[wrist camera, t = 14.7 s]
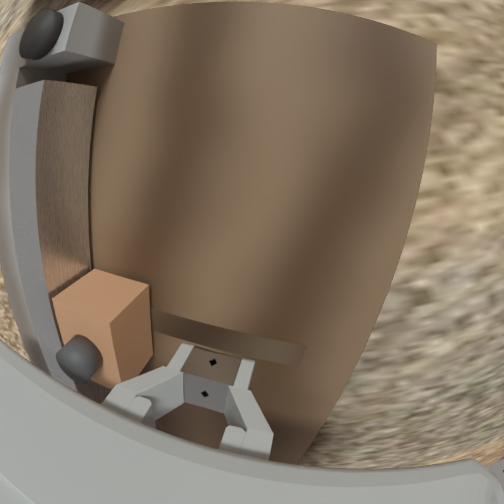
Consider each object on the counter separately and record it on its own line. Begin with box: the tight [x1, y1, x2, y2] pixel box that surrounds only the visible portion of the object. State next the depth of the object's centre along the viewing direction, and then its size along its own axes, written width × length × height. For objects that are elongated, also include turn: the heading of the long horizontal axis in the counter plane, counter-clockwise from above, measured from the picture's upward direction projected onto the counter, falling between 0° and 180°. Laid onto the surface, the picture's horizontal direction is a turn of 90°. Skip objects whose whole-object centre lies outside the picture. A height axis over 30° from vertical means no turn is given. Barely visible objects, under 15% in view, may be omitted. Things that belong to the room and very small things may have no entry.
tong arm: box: [9, 80, 112, 404], centre depth 11 cm, size 2×20×3 cm, turn 171°
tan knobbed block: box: [52, 269, 153, 390], centre depth 10 cm, size 3×4×4 cm
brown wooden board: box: [0, 2, 437, 464], centre depth 11 cm, size 19×25×5 cm
